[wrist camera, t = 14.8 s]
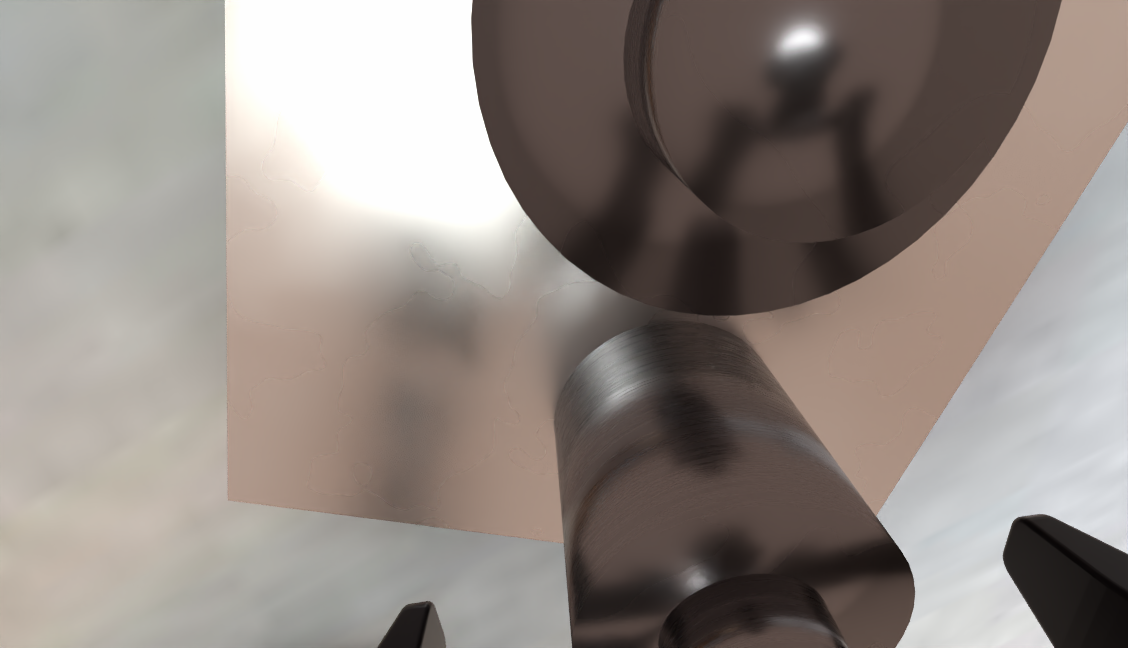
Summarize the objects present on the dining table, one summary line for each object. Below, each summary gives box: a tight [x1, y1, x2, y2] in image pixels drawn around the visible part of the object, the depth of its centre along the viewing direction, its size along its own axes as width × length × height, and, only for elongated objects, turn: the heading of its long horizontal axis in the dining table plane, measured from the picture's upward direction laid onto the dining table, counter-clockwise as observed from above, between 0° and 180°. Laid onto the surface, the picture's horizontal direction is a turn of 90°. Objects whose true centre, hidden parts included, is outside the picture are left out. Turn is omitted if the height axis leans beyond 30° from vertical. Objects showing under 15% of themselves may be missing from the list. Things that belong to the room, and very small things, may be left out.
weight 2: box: [554, 321, 915, 648], centre depth 10 cm, size 5×5×6 cm
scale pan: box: [225, 0, 1128, 543], centre depth 12 cm, size 17×15×4 cm
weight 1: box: [471, 0, 1062, 316], centre depth 6 cm, size 5×5×6 cm
